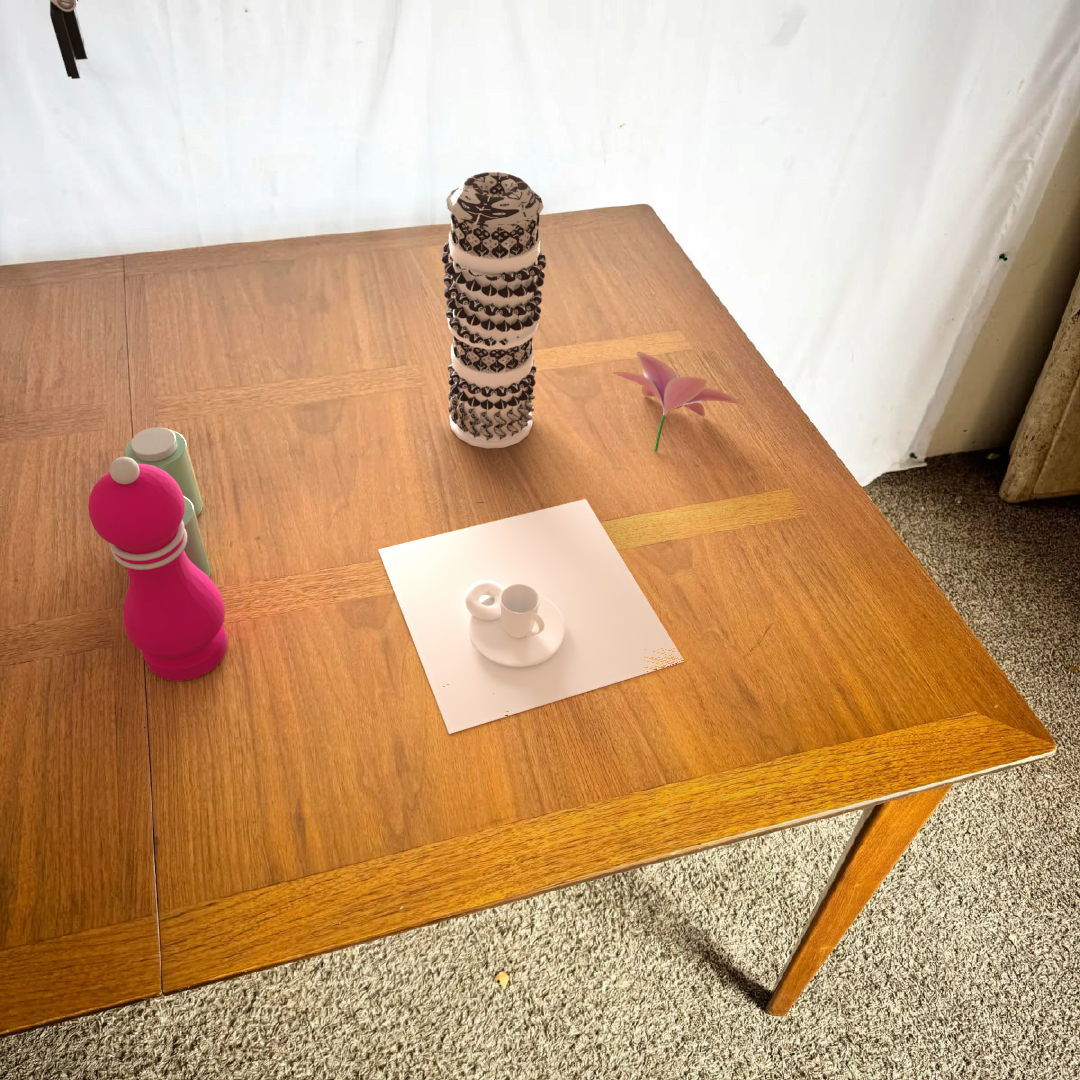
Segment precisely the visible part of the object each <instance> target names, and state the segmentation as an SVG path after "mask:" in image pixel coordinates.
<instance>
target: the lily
mask: <svg viewBox="0 0 1080 1080" xmlns="http://www.w3.org/2000/svg"><path fill="white" fill-rule="evenodd" d="M636 356H637V359H638V362H639V363H640V367H641V370H642V371H641V372H642V374H643V375H642V374H640V373H635V372H627V371H613V372H612V374H613V375H615V376H618V377H620V378H623V379H626V380H628V381H631V382H633V383H636V384H638V385H639V386H640V385H641V386H642V387H641V394H642V395H643V397H650V398H651V397H652V398H653V397H654V398H656V400H657V401H658V403H659V404H660V406H661V408H662V409H663V412H662V415H661V418H660V419H661V420H660V422H659V427H658V429H657V430H658V431H657V436H656V441H655V446H654V452H658V449H659V444H660V440H661V434H662V430H663V426H664V422H665V419H666V417H667V415H668V413H670V412H672V411H675V410H676V409H679V408H682V407H685V408H687V409H689V410H690V411H691V412H694V413H695V414H697V415H698V416H700V417H702V418H704V417H706V412H705V411H706V410H705V408H704V406H703V404H702V403H701V402H711V401H712V402H722V403H730V404H735V405H744V402H742V401H741V400H740V399H737V398H736V397H734V396H732V395H730V394H728V393H726V392H723V391H722V390H719V389H715V388H711V387H706V386H707V383H708V381H707V380H706V379H705V378H702V377H700V376H699V377H698V376H686V375H685V376H684V375H683V376H680V374H677V373H676V371H675V370H674V369H673V368H672V367H671V366H670V365H668V364H667V363H665V362H664V361H662V360H660V359H658V358H657V357H654V356H652V355H650V354H647V353H644V352H641V351H637V352H636Z"/></svg>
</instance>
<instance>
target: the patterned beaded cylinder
mask: <svg viewBox="0 0 1080 1080" xmlns="http://www.w3.org/2000/svg"><path fill="white" fill-rule="evenodd" d="M446 207H447V209H448V211H449V212H450V225H451V226H450V230H449V232H448V241H447V242H445V243H443V244H444V245H443V246H442V251H443V253H442V254H441V256H440V258H441V259H440V260H441V262H442V263H443V264H444V266H443V272H444V274H445V275H444V276H443V283H444V285H445V286H446V288H445V289H444V291H443V296H444V297H445V298H446V303H445V304H446V306H447V309H446V311H445V316H446V318H447V326H448V330H449V331H450V333H451V334H452V343H451V346H450V356H451V357H450V358H449V364H448V365H447V370H448V372H449V377H448V379H447V383H448V385H449V386H450V387H449V390H448V393H447V399H448V401H449V405H448V406H447V407H448V412H449V425H450V429H451V431H452V432H453V433H454V434H455V436H456V437H457V438H458V439H459V440H461V441H463V442H465V443H467V444H468V445H470V446H474V447H478V448H483V449H503V448H507V447H510V446H512V445H515V444H519V443H520V442H521V441H523V440H524V439H525V438H526V437H528V436H529V434H530V432H531V430H532V427H533V423H534V422H533V416H532V412H534V411H535V407H534V403H532V402H533V401H534V400H535V399H536V395H535V394H534V387H535V385H536V384H537V383H536V379H535V374H536V373H537V366H536V365H535V351H534V347H533V339H534V337H535V335H536V333H537V330H538V329H539V326H540V325H539V324H540V323H539V320H540V318H541V313H542V308H541V307H540V306H539V305H541V303H542V302H543V299H542V295H543V293H542V291H541V290H540V289H539V288H540V287H542V286H543V285H544V283H545V277H546V274H545V272H544V271H543V270H544V269H545V268H546V266H547V262H546V260H547V259H546V255H545V254H544V253H542V252H541V237H540V234H539V230H540V214H541V213H542V211H543V209H544V203H543V200H542V197H541V196H540V195H539V194H538V193H536V192H535V191H534V190H533V189H532V188H531V186H530V185H529V184H527V183H526V182H525V181H524V180H523V179H522V178H521V177H518V176H516V175H513V174H511V173H506V172H499V171H485V172H481V173H476V174H473V175H472V176H470V177H467V178H466V179H464V180H463V182H462V183H461V184H460V186H459V187H457V188H455V189H453V190H452V191H451V192H450V194H449V195H448V196H447V198H446ZM449 255H450V256H449ZM536 263H537V264H536ZM535 278H536V279H535Z"/></svg>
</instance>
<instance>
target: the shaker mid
mask: <svg viewBox="0 0 1080 1080" xmlns="http://www.w3.org/2000/svg"><path fill="white" fill-rule="evenodd" d="M183 497H184V496H183ZM184 501H185V512H184V516H183V519H182V520H183V523H184V528H185V530H186V532H187V543H186V546H185V548H184V551H185V554H186V556H187V557H188V559H189V560H190V561H191V562H192V563H193V564H194V565H195V566H196V567H197V568H199V569H200V570H201V571H202V572H204V573H205V574H206V575H207V576H208V577H209V578H210V577H211V573H212V565H211V562H210V558H209V555H208V552H207V548H206V545H205V541H204V538H203V535H202V534H203V533H202V530H201V528H200V525H199V521H198V516H197V517H196V514H195V510H194V507H193V504H192V503H191V501H190V500H189V499H187V498H186V497H184Z"/></svg>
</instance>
